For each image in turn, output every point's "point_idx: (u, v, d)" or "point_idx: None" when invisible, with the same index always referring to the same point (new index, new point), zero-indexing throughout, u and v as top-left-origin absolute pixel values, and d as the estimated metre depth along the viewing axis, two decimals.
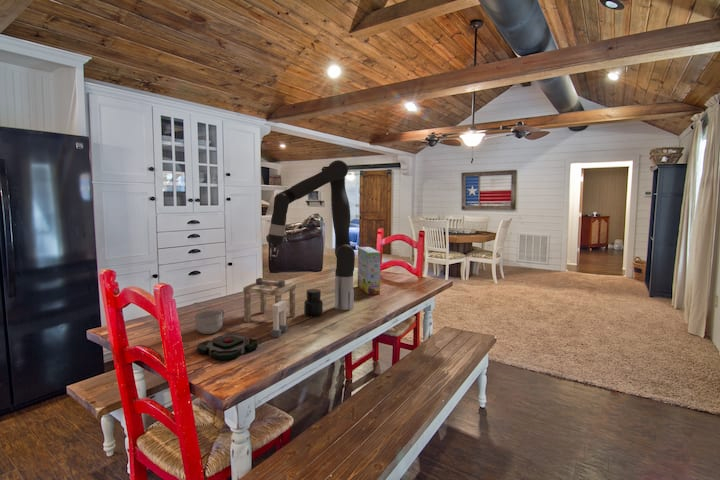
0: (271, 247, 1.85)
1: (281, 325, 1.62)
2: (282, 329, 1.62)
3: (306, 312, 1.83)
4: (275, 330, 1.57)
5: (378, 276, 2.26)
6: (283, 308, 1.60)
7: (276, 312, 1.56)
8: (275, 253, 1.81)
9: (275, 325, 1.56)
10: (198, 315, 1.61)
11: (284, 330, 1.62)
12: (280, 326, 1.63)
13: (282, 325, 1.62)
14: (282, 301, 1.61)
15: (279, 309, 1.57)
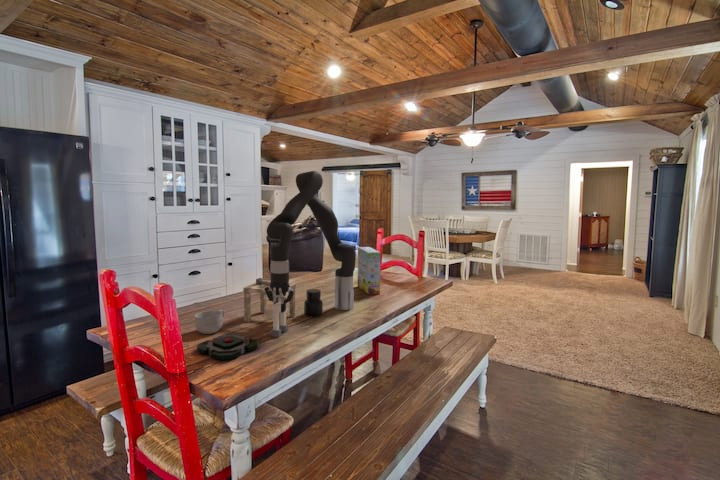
0: (282, 288, 1.56)
1: (281, 325, 1.62)
2: (282, 329, 1.62)
3: (306, 312, 1.83)
4: (275, 330, 1.57)
5: (378, 276, 2.26)
6: None
7: (276, 312, 1.56)
8: (292, 296, 1.58)
9: (275, 325, 1.56)
10: (198, 315, 1.61)
11: (284, 330, 1.62)
12: (280, 326, 1.63)
13: (282, 325, 1.62)
14: None
15: (279, 309, 1.57)
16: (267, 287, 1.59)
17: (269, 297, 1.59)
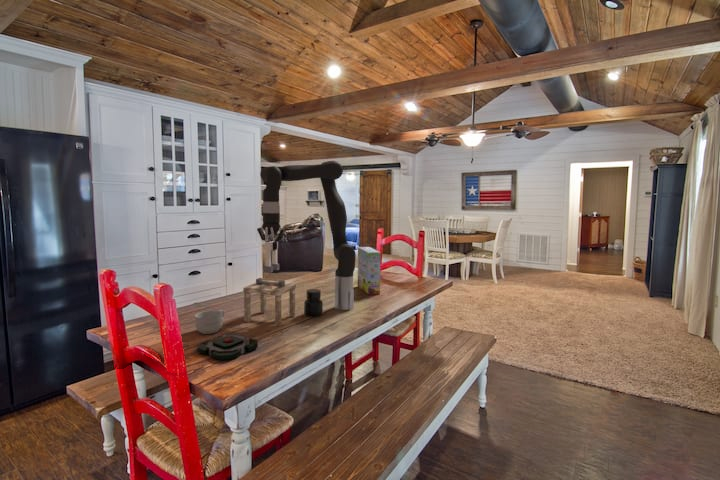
0: (273, 228, 1.70)
1: (273, 263, 1.76)
2: (274, 267, 1.76)
3: (306, 312, 1.83)
4: (267, 266, 1.70)
5: (378, 276, 2.26)
6: None
7: (268, 249, 1.69)
8: (282, 235, 1.71)
9: (267, 261, 1.70)
10: (198, 315, 1.61)
11: (276, 268, 1.75)
12: (272, 265, 1.76)
13: (274, 263, 1.76)
14: None
15: (271, 247, 1.70)
16: (259, 228, 1.73)
17: (261, 237, 1.72)
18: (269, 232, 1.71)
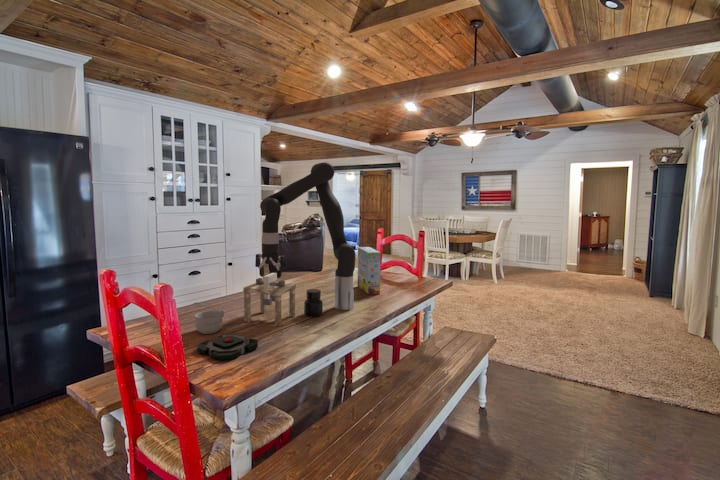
0: (272, 257, 1.73)
1: (272, 295, 1.80)
2: (273, 299, 1.80)
3: (306, 312, 1.83)
4: (266, 299, 1.74)
5: (378, 276, 2.26)
6: (273, 279, 1.77)
7: (267, 283, 1.73)
8: (284, 261, 1.74)
9: (266, 294, 1.73)
10: (198, 315, 1.61)
11: (274, 299, 1.79)
12: (271, 296, 1.80)
13: (273, 295, 1.79)
14: (272, 273, 1.78)
15: (270, 280, 1.74)
16: (259, 254, 1.76)
17: (256, 263, 1.76)
18: (266, 262, 1.75)
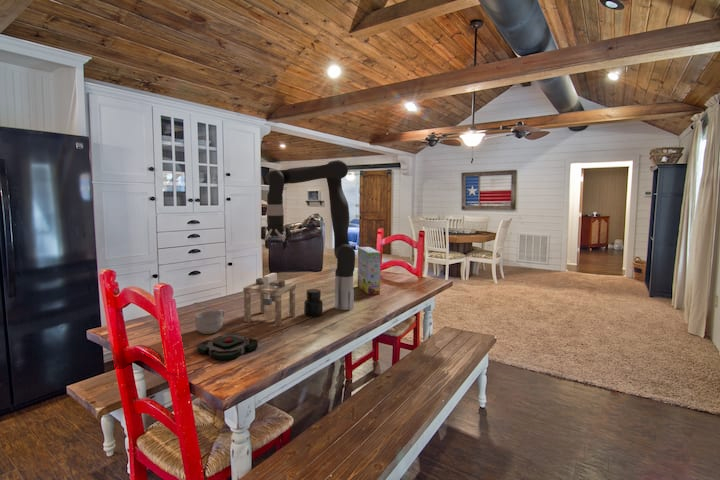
0: (277, 229, 1.76)
1: (271, 295, 1.79)
2: (273, 299, 1.79)
3: (306, 312, 1.83)
4: (266, 299, 1.74)
5: (378, 276, 2.26)
6: (273, 279, 1.77)
7: (267, 282, 1.73)
8: (289, 233, 1.77)
9: (266, 294, 1.73)
10: (198, 315, 1.61)
11: (274, 300, 1.79)
12: (271, 296, 1.80)
13: (273, 295, 1.79)
14: (272, 273, 1.78)
15: (270, 280, 1.74)
16: (264, 227, 1.79)
17: (262, 235, 1.79)
18: (271, 234, 1.77)
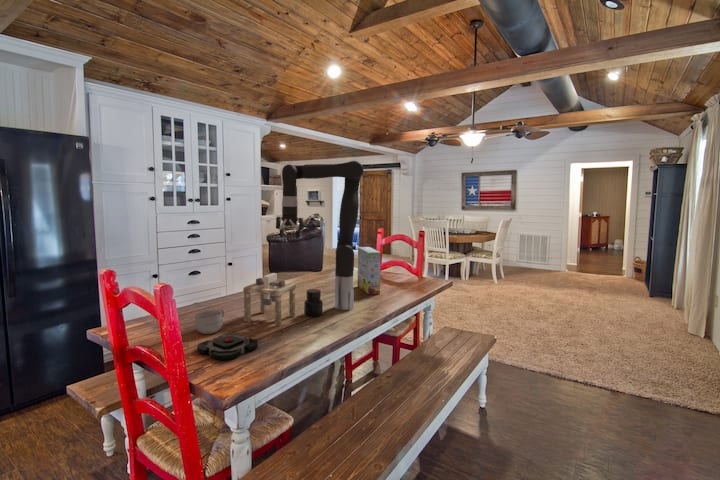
0: (291, 219, 1.89)
1: (271, 295, 1.79)
2: (272, 299, 1.79)
3: (306, 312, 1.83)
4: (266, 299, 1.73)
5: (378, 276, 2.26)
6: (273, 279, 1.77)
7: (267, 282, 1.73)
8: (303, 223, 1.90)
9: (266, 294, 1.73)
10: (198, 315, 1.61)
11: (274, 300, 1.79)
12: (271, 296, 1.79)
13: (272, 295, 1.79)
14: (272, 273, 1.78)
15: (270, 280, 1.74)
16: (279, 217, 1.92)
17: (277, 225, 1.92)
18: (286, 224, 1.91)
